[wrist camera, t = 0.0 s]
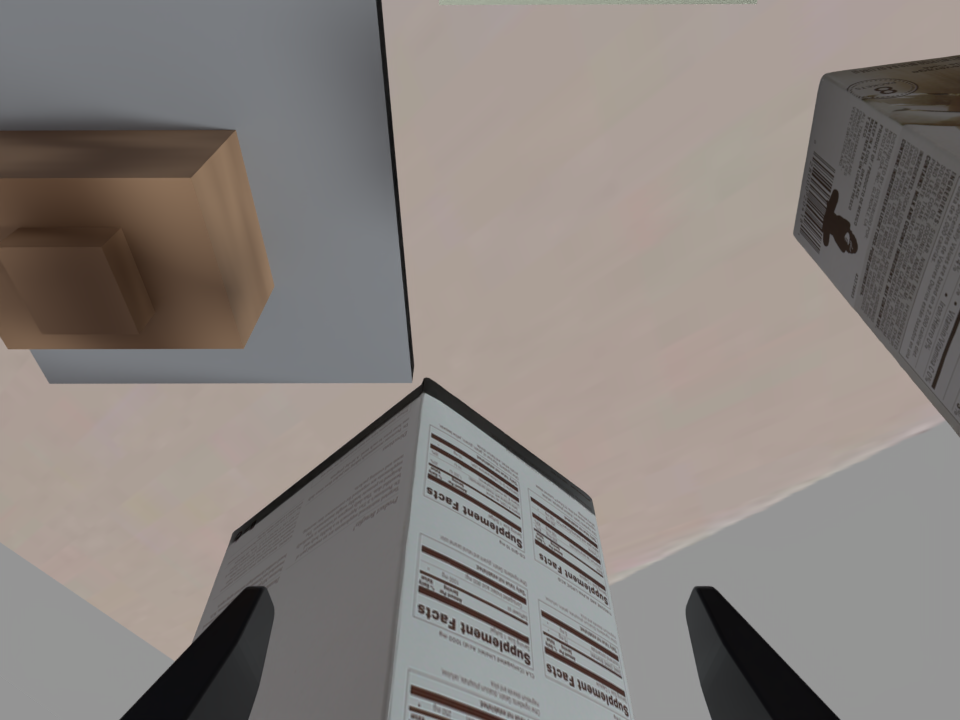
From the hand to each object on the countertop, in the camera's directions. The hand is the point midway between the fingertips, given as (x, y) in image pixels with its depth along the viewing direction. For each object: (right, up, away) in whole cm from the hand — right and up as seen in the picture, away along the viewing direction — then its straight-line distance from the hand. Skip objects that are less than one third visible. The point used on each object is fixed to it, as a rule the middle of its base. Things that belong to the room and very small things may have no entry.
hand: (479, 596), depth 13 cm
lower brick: (-12, +10, +9) cm, 18 cm away
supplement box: (-4, -4, +22) cm, 23 cm away
